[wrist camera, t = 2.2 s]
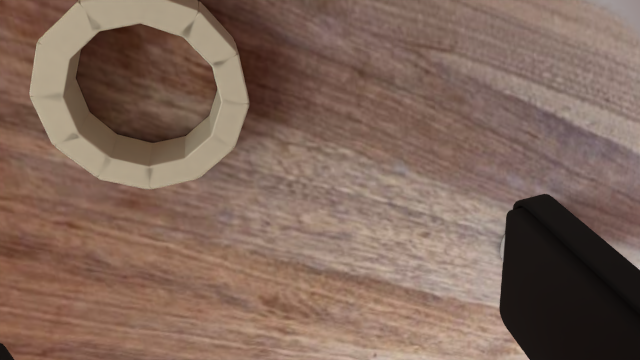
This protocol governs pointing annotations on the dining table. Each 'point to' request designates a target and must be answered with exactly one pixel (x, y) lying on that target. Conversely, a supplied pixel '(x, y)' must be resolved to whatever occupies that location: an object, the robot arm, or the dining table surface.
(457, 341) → the dining table surface
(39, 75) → the tape roll
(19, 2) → the dining table surface
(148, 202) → the dining table surface
